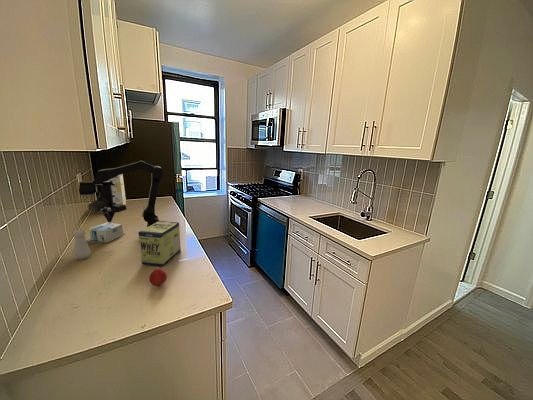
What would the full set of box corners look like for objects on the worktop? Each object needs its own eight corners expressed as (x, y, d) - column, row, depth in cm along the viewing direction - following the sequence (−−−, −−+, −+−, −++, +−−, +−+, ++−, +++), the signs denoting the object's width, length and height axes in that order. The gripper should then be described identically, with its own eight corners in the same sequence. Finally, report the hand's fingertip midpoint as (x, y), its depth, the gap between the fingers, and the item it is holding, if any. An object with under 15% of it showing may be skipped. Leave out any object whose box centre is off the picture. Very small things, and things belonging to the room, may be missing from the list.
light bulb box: (105, 231, 116) (88, 228, 118) (106, 243, 117) (90, 240, 120) (122, 224, 126) (106, 221, 128) (123, 235, 127) (107, 232, 130)
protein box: (141, 265, 98) (137, 232, 95) (162, 249, 113) (159, 220, 110) (163, 267, 97) (160, 234, 93) (181, 251, 112) (179, 221, 108)
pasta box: (123, 208, 176) (119, 173, 170) (107, 210, 172) (102, 173, 165) (126, 203, 192) (122, 170, 185) (111, 204, 188) (107, 170, 181)
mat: (125, 234, 129) (125, 233, 129) (102, 244, 116) (102, 243, 116) (108, 231, 132) (108, 231, 132) (84, 241, 119) (84, 240, 119)
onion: (149, 292, 81) (147, 273, 79) (150, 283, 86) (148, 264, 84) (167, 289, 83) (165, 269, 81) (167, 280, 88) (165, 262, 86)
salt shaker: (73, 261, 99) (68, 234, 96) (77, 255, 104) (72, 229, 101) (90, 258, 102) (85, 232, 99) (92, 253, 107) (88, 227, 103)
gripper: (75, 195, 111) (80, 225, 115) (106, 198, 107) (110, 229, 111) (96, 191, 122) (100, 218, 126) (125, 194, 118) (128, 222, 122)
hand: (109, 222), depth 121 cm, fingers closed
